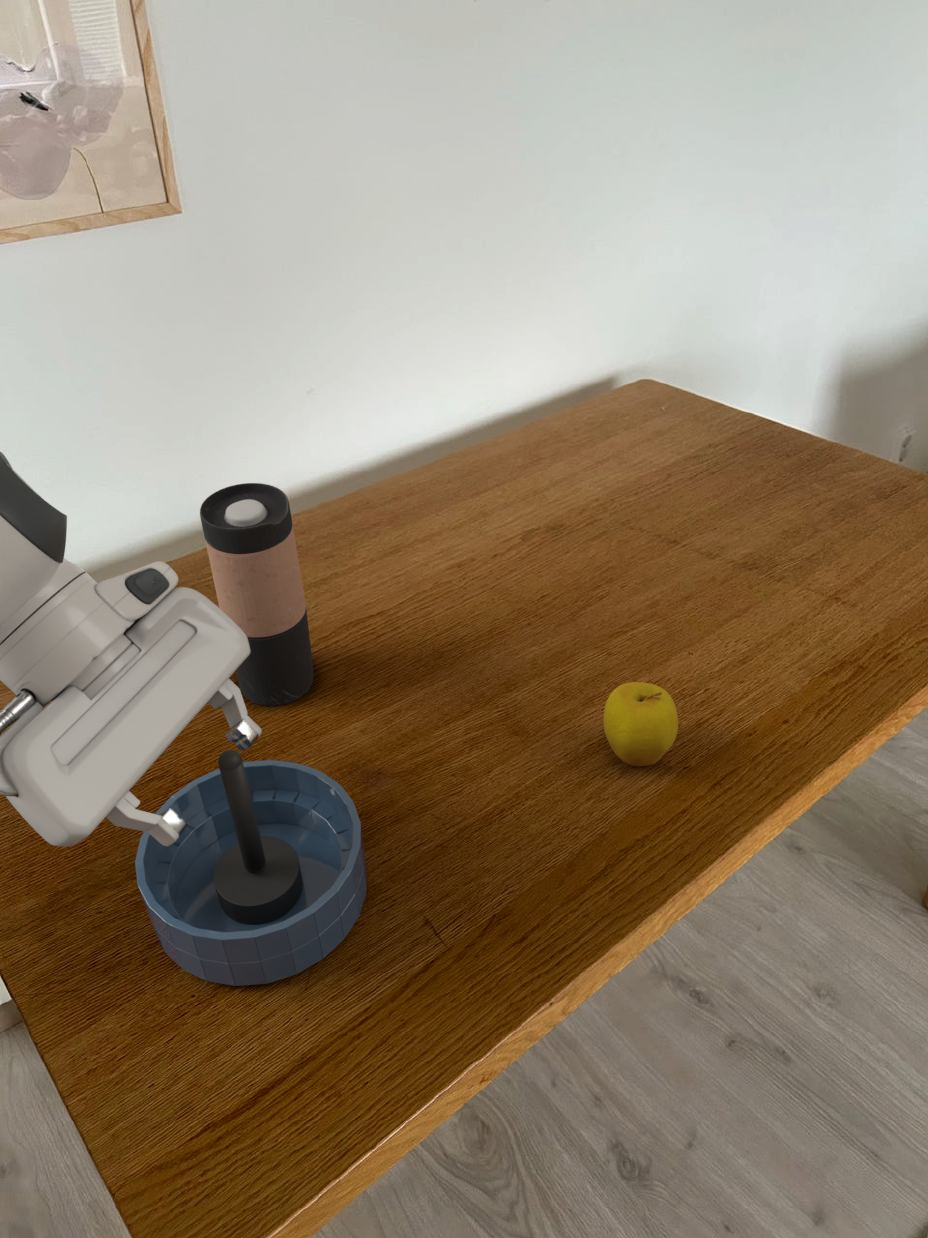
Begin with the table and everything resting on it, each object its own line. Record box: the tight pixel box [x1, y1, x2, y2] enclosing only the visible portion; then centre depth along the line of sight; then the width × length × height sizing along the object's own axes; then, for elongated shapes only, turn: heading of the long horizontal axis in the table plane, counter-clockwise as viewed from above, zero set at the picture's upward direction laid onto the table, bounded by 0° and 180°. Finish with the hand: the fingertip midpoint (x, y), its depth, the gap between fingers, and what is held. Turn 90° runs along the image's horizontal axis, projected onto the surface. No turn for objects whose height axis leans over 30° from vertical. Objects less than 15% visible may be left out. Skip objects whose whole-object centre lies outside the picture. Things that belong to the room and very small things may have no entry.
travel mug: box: [199, 482, 314, 707], centre depth 89 cm, size 8×8×20 cm
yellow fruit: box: [603, 681, 679, 767], centre depth 84 cm, size 6×6×8 cm
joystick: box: [214, 749, 303, 925], centre depth 71 cm, size 6×6×15 cm
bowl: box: [134, 759, 368, 987], centre depth 74 cm, size 16×16×6 cm
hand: (217, 787), depth 69 cm, fingers open, 8 cm apart
